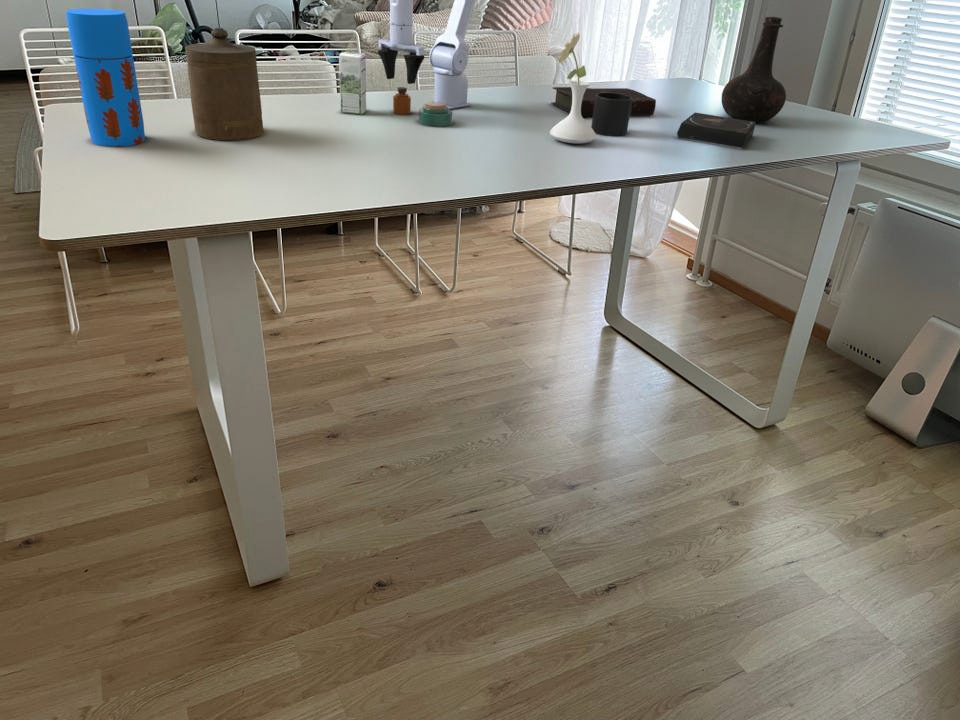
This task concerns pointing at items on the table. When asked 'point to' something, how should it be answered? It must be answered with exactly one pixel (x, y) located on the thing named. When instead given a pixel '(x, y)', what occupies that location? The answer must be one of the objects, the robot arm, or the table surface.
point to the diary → (639, 100)
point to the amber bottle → (402, 102)
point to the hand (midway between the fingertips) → (400, 81)
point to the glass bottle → (757, 82)
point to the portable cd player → (716, 130)
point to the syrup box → (352, 82)
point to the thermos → (106, 76)
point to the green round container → (435, 114)
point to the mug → (611, 114)
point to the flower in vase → (574, 105)
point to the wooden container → (224, 89)
